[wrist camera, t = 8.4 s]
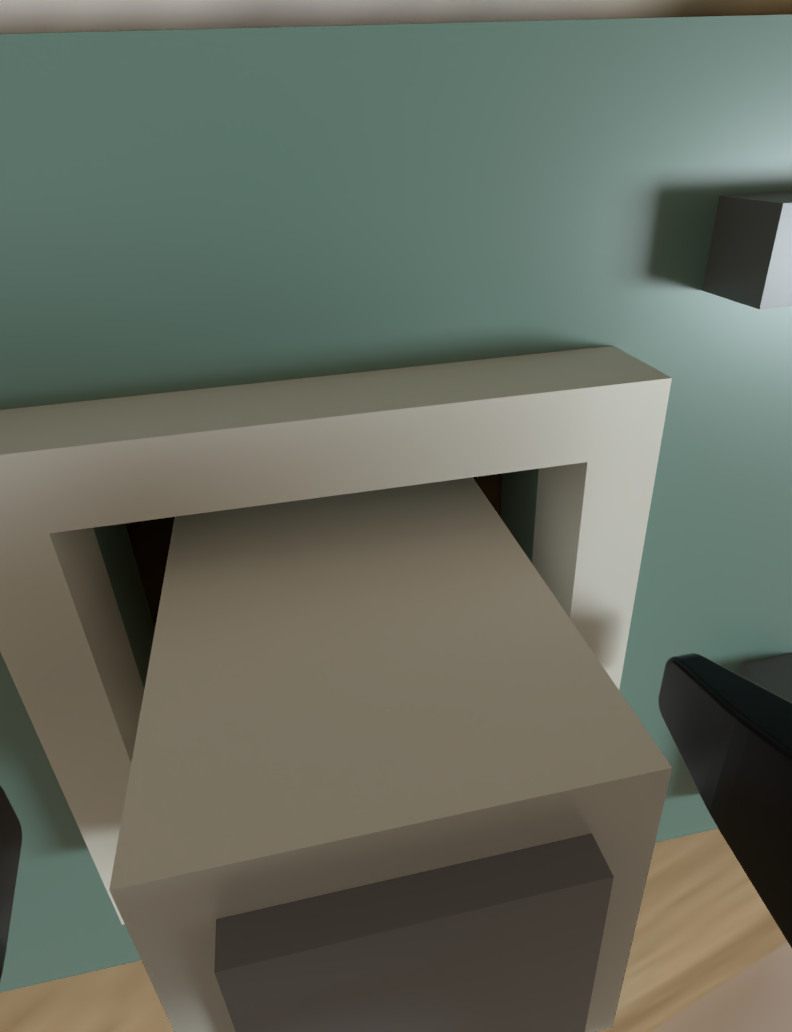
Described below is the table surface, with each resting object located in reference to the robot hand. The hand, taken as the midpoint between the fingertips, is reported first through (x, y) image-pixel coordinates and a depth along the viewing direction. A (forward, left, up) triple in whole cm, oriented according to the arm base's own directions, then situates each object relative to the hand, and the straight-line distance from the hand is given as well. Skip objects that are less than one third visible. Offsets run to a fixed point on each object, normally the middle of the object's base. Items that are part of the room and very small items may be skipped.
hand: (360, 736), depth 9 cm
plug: (0, 0, -4) cm, 4 cm away
